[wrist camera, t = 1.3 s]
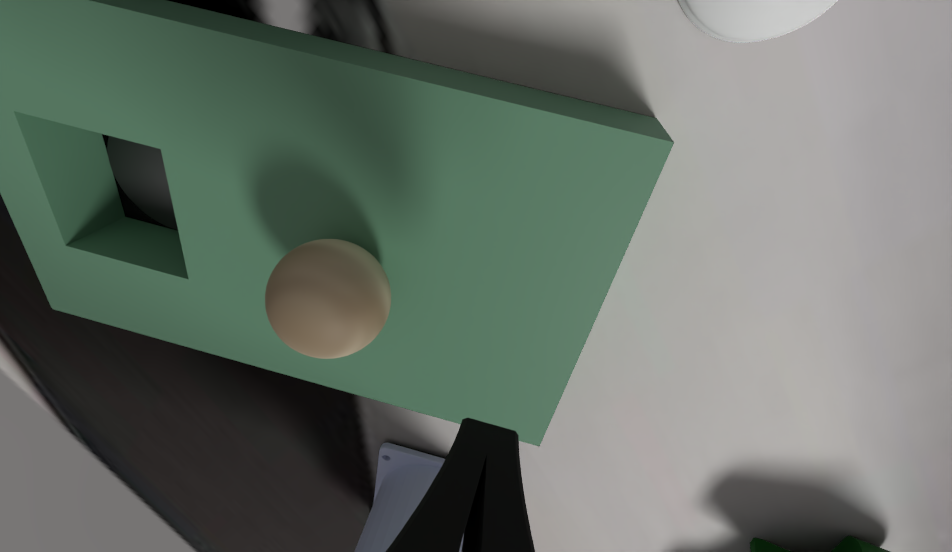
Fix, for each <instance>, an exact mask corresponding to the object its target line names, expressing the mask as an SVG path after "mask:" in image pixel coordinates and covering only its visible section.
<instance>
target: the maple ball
mask: <svg viewBox="0 0 952 552" xmlns="http://www.w3.org/2000/svg"><path fill="white" fill-rule="evenodd" d="M390 307H391V289H390V284H389V280H388V277H387V275H386V273H385V271H384V269H383V268H382V266H381V265H380V263H379V262H378V261H377V259H376V258H375V257H374V256H373V255H371V254H370V253H369V252H368V251H366V250H365V249H364V248H362V247H360V246H358V245H356V244H354V243H351V242H348V241H344V240H339V239H319V240H314V241H310V242H307V243H304V244H302V245H300V246H298V247H296V248H294V249H293V250H291V251H290V252H289V253H287V254H286V255H285V256H284V257H283V258H282V259H281V260H280V261H279V262H278V264H277V265H276V266H275V268H274V270H273V271H272V273H271V275H270V277H269V280H268V283H267V286H266V292H265V308H266V313H267V316H268V319H269V322H270V324H271V326H272V328H273V330H274V331H275V333H276V334H277V335H278V337H279V338H280V339H281V340H282V341H283V342H284V343H285V344H286V345H288V346H289V347H290V348H292V349H293V350H295V351H297V352H299V353H301V354H304V355H307V356H310V357H314V358H321V359H333V358H339V357H344V356H348V355H350V354H353V353H355V352H357V351H359V350H361V349H362V348H364V347H365V346H367V345H368V344H369V343H371V342H372V341H373V340H374V339H375V338H376V336H377V335H378V334H379V333H380V331H381V330H382V328H383V327H384V325H385V323H386V321H387V318H388V315H389V311H390Z"/></svg>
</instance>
